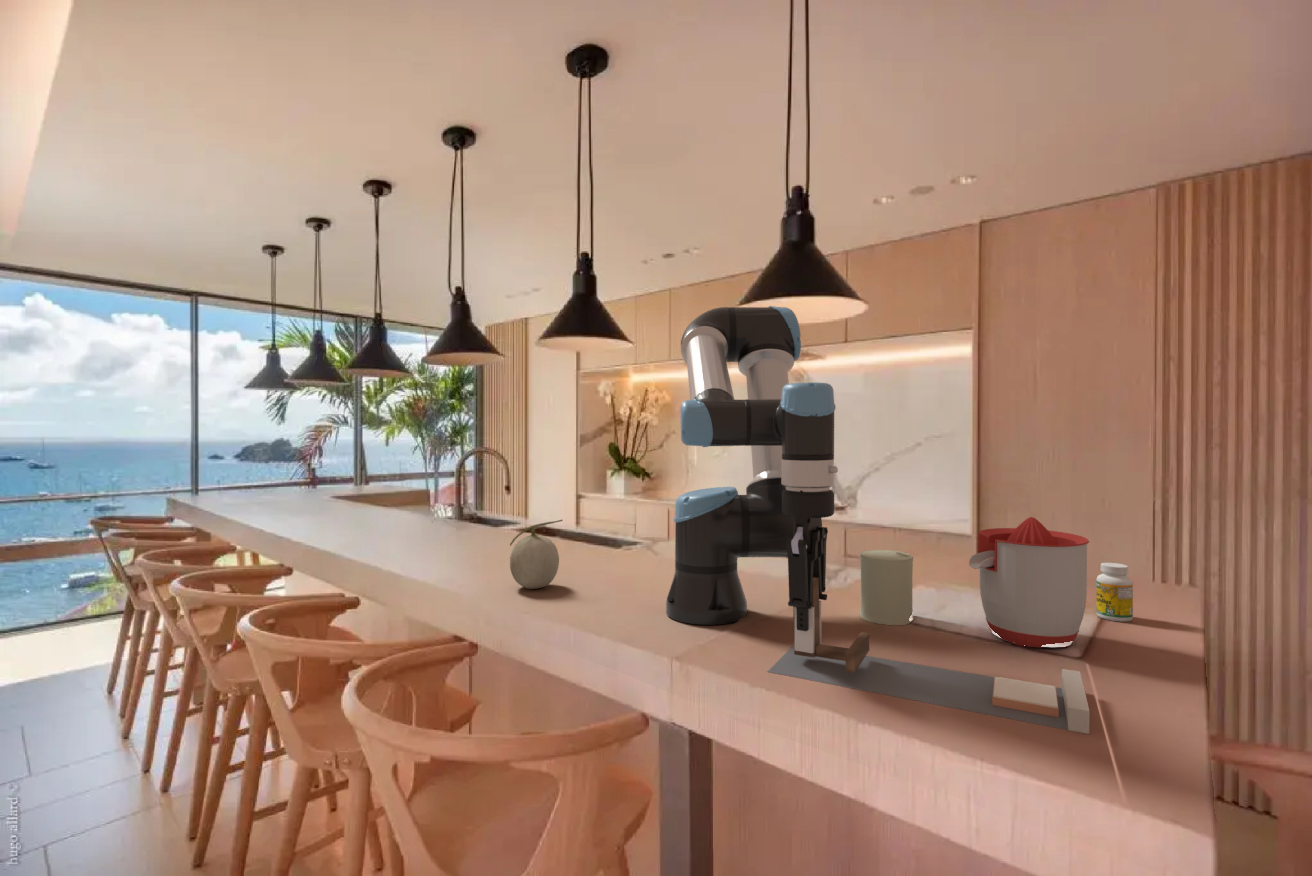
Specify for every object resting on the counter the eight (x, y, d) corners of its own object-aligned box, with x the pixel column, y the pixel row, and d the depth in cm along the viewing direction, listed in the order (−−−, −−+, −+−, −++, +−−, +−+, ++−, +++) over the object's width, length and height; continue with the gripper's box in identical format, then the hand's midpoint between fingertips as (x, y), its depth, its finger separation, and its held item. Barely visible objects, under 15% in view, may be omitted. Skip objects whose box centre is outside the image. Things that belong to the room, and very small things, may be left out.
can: (918, 626, 112) (918, 558, 111) (862, 623, 114) (862, 556, 113) (908, 611, 121) (908, 547, 120) (857, 609, 123) (857, 546, 122)
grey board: (767, 674, 91) (767, 653, 91) (795, 646, 102) (795, 627, 102) (1089, 737, 72) (1089, 710, 72) (1079, 694, 84) (1080, 671, 84)
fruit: (497, 588, 140) (496, 519, 140) (543, 579, 148) (542, 514, 147) (522, 597, 132) (521, 525, 132) (569, 587, 140) (568, 519, 140)
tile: (992, 704, 80) (992, 695, 80) (994, 684, 86) (994, 675, 86) (1058, 717, 77) (1058, 707, 76) (1055, 695, 83) (1055, 685, 83)
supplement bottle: (1140, 622, 113) (1140, 567, 113) (1110, 622, 113) (1111, 568, 113) (1117, 613, 119) (1117, 561, 118) (1089, 613, 118) (1089, 561, 118)
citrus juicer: (951, 623, 113) (951, 510, 113) (1051, 623, 113) (1052, 510, 112) (995, 655, 98) (996, 524, 97) (1111, 655, 97) (1113, 524, 97)
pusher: (786, 662, 91) (785, 585, 91) (806, 641, 100) (805, 570, 100) (854, 673, 87) (852, 591, 86) (869, 649, 95) (867, 576, 95)
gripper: (818, 495, 85) (818, 670, 86) (846, 484, 99) (846, 635, 100) (764, 492, 89) (765, 660, 90) (799, 482, 103) (799, 627, 104)
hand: (808, 646), depth 95 cm, fingers closed on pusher, 3 cm apart
